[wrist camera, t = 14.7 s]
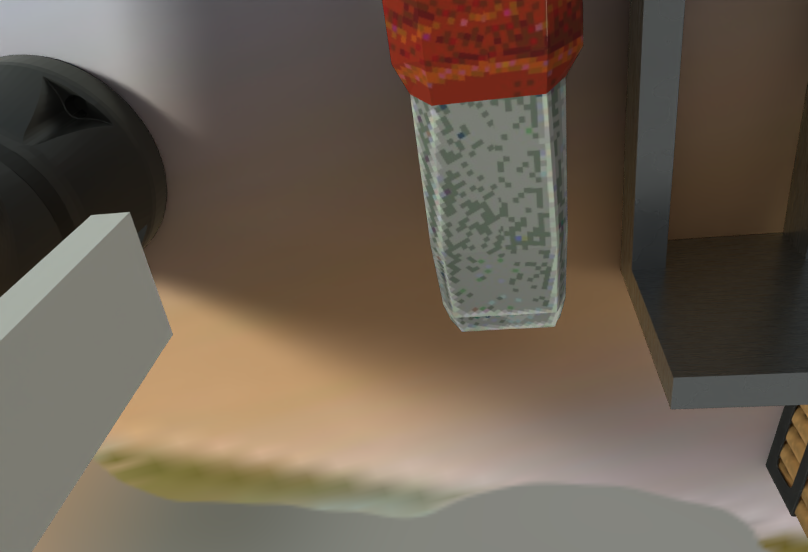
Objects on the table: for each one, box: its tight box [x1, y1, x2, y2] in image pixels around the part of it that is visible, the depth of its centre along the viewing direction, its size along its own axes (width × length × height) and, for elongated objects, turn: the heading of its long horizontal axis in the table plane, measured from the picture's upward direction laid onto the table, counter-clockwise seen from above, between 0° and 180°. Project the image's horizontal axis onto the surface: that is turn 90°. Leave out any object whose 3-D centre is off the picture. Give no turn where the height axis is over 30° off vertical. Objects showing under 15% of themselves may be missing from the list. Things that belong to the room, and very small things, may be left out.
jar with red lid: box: [382, 0, 583, 332], centre depth 31 cm, size 19×6×30 cm
